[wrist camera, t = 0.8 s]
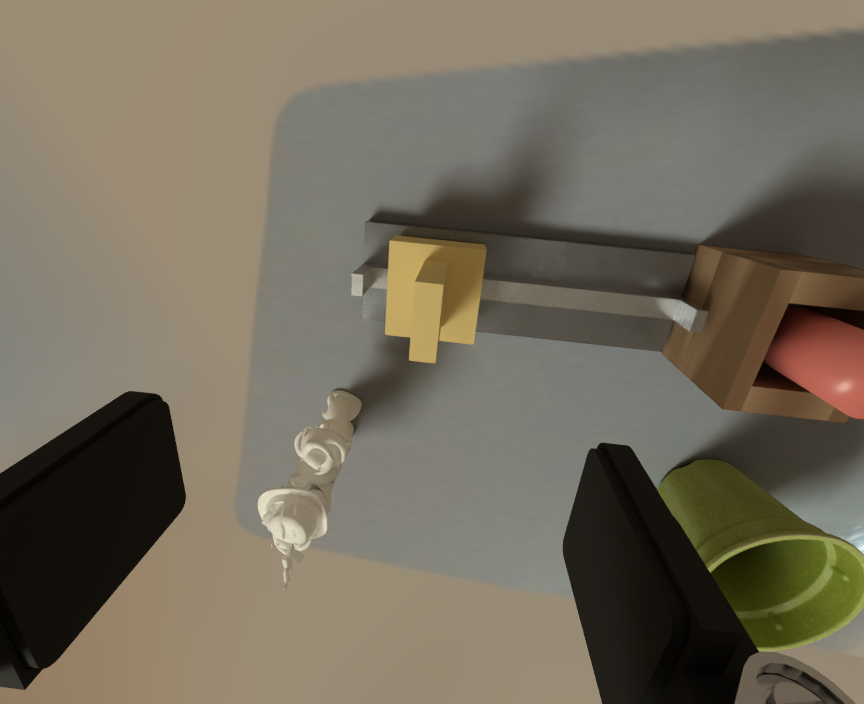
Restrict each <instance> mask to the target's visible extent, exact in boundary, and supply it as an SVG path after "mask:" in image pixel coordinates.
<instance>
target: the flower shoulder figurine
mask: <svg viewBox="0 0 864 704" xmlns="http://www.w3.org/2000/svg"><path fill="white" fill-rule="evenodd" d="M327 403H328V405H329V406H328V410H327V411H322V415H323V417H324V418H325V419H323V421H322V422H320V423H318V425H317V426H316V427H315V429H314V428H312V427H311V426H310V425H307V427H306V428H305V431H304V433H303V431H302V432H300V433H299V434H298V435H297V437H296V438H295V444H294V445H295V449H296V452H297V454H298V455H299V456H298V460H297V471H298V472H297V473H295V474H293V475H292V476H291V479H290V481H289V483H288V485H287V486H284V487H283V485H281V487H280V488H279V489H272V490H269V491H267V492H265V493H263V494H262V495H261V496H260V498H259V501H258V510H259V514H260V516H261V518H262V520H263V521H262V522H261V523H263V524H264V525H266V526H267V527H268V530H269V531H270V530H271V532H272V534H273V540H274V543H275V545H276V547H277V548H278V549H279V550H280V551H281V552H282V553H283V554H285V555H284V556H283V558H282V562H283V566H284V581H285V583H286V584H285V583H284V585H283V588H284V589H285V591H286V589H287V583H288V582H289V581H290V578H289V574H291V572H292V571H293V566H292V558H293V559H295V560H297V561H298V562H301V560H302V559H303V557H304V554H303V553H301V552H299V551H303V550H305V549H307V548H308V547H309V545H310V544H311V542H312V539H315V538H318V537H320V536H322V535H324V534H325V533H326V531H327V527H328V523H327V514H328V512H329V511H330V506H331V491H332V488H333V486H334V484H335V481H336V479H337V476H338V474H339V471H340V469H341V467H342V464H343V462H344V461H345V458H346V456H347V455H348V453H349V451H350V449H351V447H352V443H353V442H352V441H349V440H350V438H351V437H352V435H353V432H354V427H353V425H352V423H351V422H350V421H351V420H353V419H354V418H355V417H356V416H357V415H358V413H359V412H360V410H361V407H362V403H361V400H360V399H359V398H357V397H356V396H354V395H352V394H350V393H348V392H345V391H341V390H336V391H333V392H332V393H331V394H330V395H329V397H328V399H327ZM319 425H320V428H317V427H318V426H319ZM308 427H309V428H311V429H312V430H310V431H309V432H308V433H307V434H306V432H307V429H308ZM316 428H317V429H316ZM302 433H303V437H302V441H301V445H299V439H300V437H301V435H302ZM347 443H349V444H350V445H349V446H348V448H347ZM340 464H341V465H340ZM338 465H340V467H339V469H336V467H337V466H338ZM333 481H334V482H333ZM332 483H333V484H332ZM331 484H332V486H331ZM285 487H286V488H285ZM308 540H309V541H308ZM306 541H308V542H306ZM305 542H306V543H305ZM271 547H272V545H271ZM286 549H287V550H286Z"/></svg>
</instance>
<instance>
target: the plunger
mask: <svg viewBox="0 0 864 704" xmlns="http://www.w3.org/2000/svg"><path fill="white" fill-rule="evenodd" d="M763 363H765V364H767V365H768V366H770V367H771V368H773V369H774V370H776V371H778V372H779V373H781V374H782V375H784V376H786V377H787V378H789V379H790V380H792V381H794V382H795V383H797V384H798V385H800V386H801V387H803V388H805V389H806V390H808V391H809V392H811V393H813V394H814V395H816V396H817V397H819V398H821V399H822V400H824V401H825V402H827V403H828V404H830V405H832V406H833V407H835V408H836V409H838V410H840V411H841V412H843V413H844V414H846V415H848V416H850V417H853V418H856V419H864V330H863V329H860V328H858V327H855V326H853V325H850V324H847V323H845V322H842V321H840V320H837V319H835V318H832V317H829V316H827V315H824V314H822V313H819V312H817V311H814V310H811V309H808V308H791V309H787V310H785V313H784V315H783V317H782V319H781V322H780V324H779V326H778V328H777V331H776V333H775V335H774V337H773V340H772V342H771V344H770V346H769V349H768V351H767V353H766V355H765V358H764V360H763Z"/></svg>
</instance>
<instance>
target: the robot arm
mask: <svg viewBox="0 0 864 704" xmlns="http://www.w3.org/2000/svg"><path fill="white" fill-rule="evenodd" d="M185 500H186V494H185V488H184V483H183V478H182V472H181V467H180V462H179V457H178V452H177V446H176V441H175V436H174V430H173V425H172V420H171V415H170V409H169V406H168V404H167V403H166V402H164V401H163V400H162V398H161V397H160V396H159V395H157V394H153V393H144V392H134V391H128V392H126V393H124V394H122V395H121V396H119V397H118V398H116V399H114V400H113V401H112V402H110V403H108V404H107V405H105V406H104V407H102V408H101V409H99V410H97V411H96V412H94V413H93V414H91V415H90V416H88V417H87V418H85V419H84V420H82V421H81V422H79V423H77V424H76V425H74V426H73V427H71V428H70V429H68V430H67V431H65V432H64V433H62V434H60V435H59V436H57V437H56V438H55V439H53V440H51V441H50V442H48V443H47V444H45V445H43V446H42V447H40V448H39V449H38V450H36V451H35V452H33V453H31V454H30V455H28V456H27V457H25V458H23V459H22V460H20V461H19V462H17V463H16V464H14V465H13V466H11V467H10V468H8V469H6V470H5V471H4V472H2V473H0V687H7V688H15V689H22V690H25V689H26V688H27V687H28V686H29V685H30V683H31V682H32V681H33V680H34V678H35V677H36V676H37V675H38V674H39V673H40V672H41V670H42V669H44V668H47V667H49V666H51V665H52V664H53V663H55V662H56V661H57V659H58V658H59V657H60V656H61V655H62V654H63V653H64V651H65V650H66V649H67V648H68V647H69V645H70V644H71V643H72V642H73V641H74V639H75V638H76V637H77V636H78V635H79V633H80V632H81V631H82V630H83V629H84V627H85V626H86V625H87V624H88V623H89V621H90V620H91V619H92V618H93V617H94V615H95V614H96V613H97V611H99V609H100V608H101V607H102V606H103V605H104V603H105V602H106V601H107V600H108V599H109V597H110V596H111V595H112V594H113V592H114V591H115V590H116V589H117V588H118V587H119V585H120V584H121V583H122V581H124V579H125V578H126V577H127V576H128V575H129V573H130V572H131V571H132V570H133V569H134V567H135V566H136V565H137V564H138V562H139V561H140V560H141V559H142V558H143V557H144V555H145V554H146V553H147V552H148V551H149V549H150V548H151V547H152V546H153V545H154V543H155V542H156V541H157V540H158V539H159V537H160V536H161V535H162V534H163V533H164V531H165V530H166V529H167V528H168V527H169V525H170V524H171V523H172V522H173V521H174V519H175V518H176V517H177V516H178V514H179V513H180V512H181V511H182V509H183V507H184V504H185ZM563 556H564V560H565V564H566V568H567V572H568V575H569V579H570V583H571V587H572V590H573V594H574V598H575V602H576V606H577V609H578V613H579V617H580V621H581V625H582V628H583V632H584V636H585V640H586V643H587V647H588V651H589V655H590V659H591V662H592V666H593V670H594V674H595V677H596V681H597V685H598V689H599V693H600V697H601V700H602V704H855V703H854V701H853V700H851V699H850V698H849V697H848V696H847V695H846V694H845V693H844V692H843V691H842V690H841V689H840V688H839V687H838V686H836V685H835V684H834V683H833V682H832V681H830V680H829V679H828V678H826V677H825V676H823V675H822V674H821V673H819V672H818V671H816V670H815V669H814V668H812V667H810V666H808V665H806V664H804V663H802V662H800V661H798V660H796V659H795V658H792V657H789V656H786V655H783V654H780V653H776V652H759V651H758V649H757V647H756V646H755V644H754V643H753V641H752V639H751V638H750V636H749V635H748V633H747V631H746V630H745V628H744V626H743V625H742V623H741V622H740V620H739V618H738V617H737V615H736V614H735V612H734V610H733V609H732V607H731V606H730V604H729V602H728V601H727V599H726V597H725V596H724V594H723V593H722V591H721V589H720V588H719V586H718V585H717V583H716V581H715V580H714V578H713V577H712V575H711V573H710V572H709V570H708V568H707V567H706V565H705V564H704V562H703V560H702V559H701V557H700V556H699V554H698V552H697V551H696V549H695V548H694V546H693V544H692V543H691V541H690V539H689V538H688V536H687V535H686V533H685V531H684V530H683V528H682V527H681V525H680V523H679V522H678V521H677V520H676V518H675V517H674V516H673V515H672V513H671V512H670V510H669V508H668V507H667V505H666V504H665V502H664V500H663V499H662V497H661V496H660V494H659V492H658V491H657V489H656V487H655V486H654V484H653V483H652V481H651V479H650V478H649V476H648V474H647V473H646V471H645V470H644V468H643V466H642V465H641V463H640V461H639V460H638V458H637V457H636V455H635V453H634V452H633V450H632V449H631V448H630V446H627V445H618V444H609V443H600V444H599V445H598V447H597V449H590V450H589V452H588V455H587V458H586V462H585V465H584V469H583V472H582V476H581V479H580V483H579V487H578V490H577V494H576V497H575V501H574V504H573V508H572V511H571V515H570V518H569V522H568V525H567V529H566V532H565V536H564V540H563Z"/></svg>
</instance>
